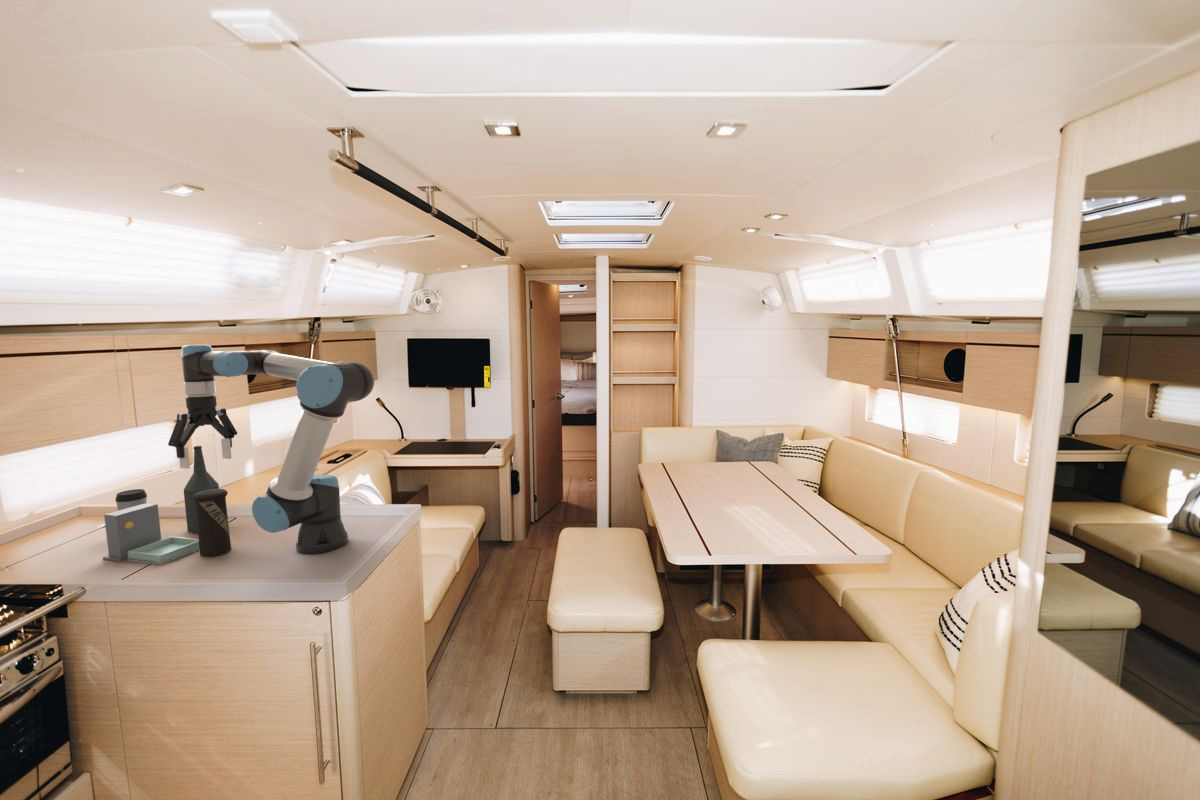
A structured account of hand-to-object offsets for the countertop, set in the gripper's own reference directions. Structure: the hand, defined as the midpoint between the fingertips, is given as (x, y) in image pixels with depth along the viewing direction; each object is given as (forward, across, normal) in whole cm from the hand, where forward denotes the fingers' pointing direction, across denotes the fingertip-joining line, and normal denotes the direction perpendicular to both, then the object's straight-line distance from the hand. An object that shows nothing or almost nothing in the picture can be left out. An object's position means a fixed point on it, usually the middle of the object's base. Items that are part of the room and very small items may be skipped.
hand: (206, 463), depth 167 cm
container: (+29, 0, 0) cm, 29 cm away
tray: (+29, +5, -13) cm, 32 cm away
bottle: (+29, -16, -24) cm, 41 cm away
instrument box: (+29, +6, -25) cm, 38 cm away
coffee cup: (+29, -6, -43) cm, 52 cm away
